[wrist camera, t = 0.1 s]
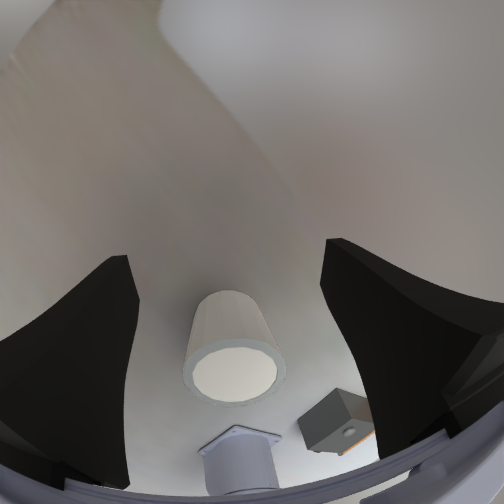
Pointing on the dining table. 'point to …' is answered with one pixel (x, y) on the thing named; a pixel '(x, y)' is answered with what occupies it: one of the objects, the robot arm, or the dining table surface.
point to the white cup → (232, 352)
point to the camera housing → (336, 422)
